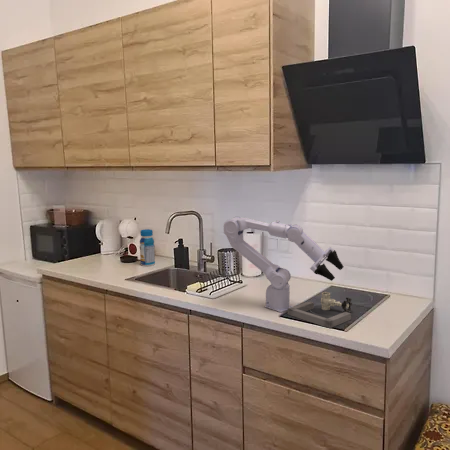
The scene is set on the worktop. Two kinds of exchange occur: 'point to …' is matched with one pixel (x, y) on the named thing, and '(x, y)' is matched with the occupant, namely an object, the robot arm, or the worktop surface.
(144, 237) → the beverage bottle
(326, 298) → the valve
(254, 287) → the worktop surface
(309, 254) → the robot arm
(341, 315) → the chassis bay
